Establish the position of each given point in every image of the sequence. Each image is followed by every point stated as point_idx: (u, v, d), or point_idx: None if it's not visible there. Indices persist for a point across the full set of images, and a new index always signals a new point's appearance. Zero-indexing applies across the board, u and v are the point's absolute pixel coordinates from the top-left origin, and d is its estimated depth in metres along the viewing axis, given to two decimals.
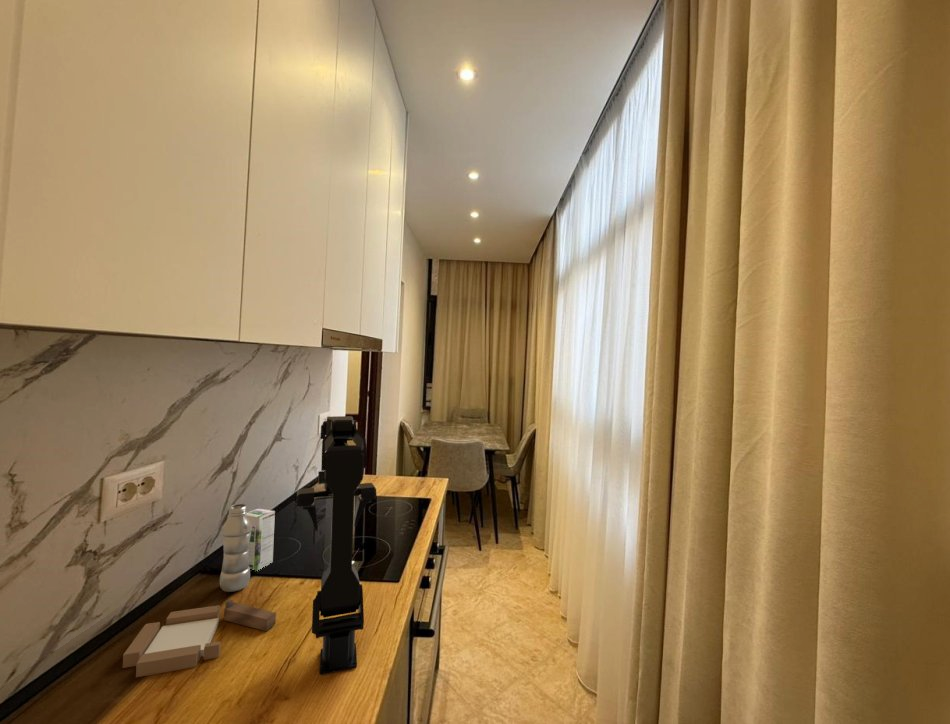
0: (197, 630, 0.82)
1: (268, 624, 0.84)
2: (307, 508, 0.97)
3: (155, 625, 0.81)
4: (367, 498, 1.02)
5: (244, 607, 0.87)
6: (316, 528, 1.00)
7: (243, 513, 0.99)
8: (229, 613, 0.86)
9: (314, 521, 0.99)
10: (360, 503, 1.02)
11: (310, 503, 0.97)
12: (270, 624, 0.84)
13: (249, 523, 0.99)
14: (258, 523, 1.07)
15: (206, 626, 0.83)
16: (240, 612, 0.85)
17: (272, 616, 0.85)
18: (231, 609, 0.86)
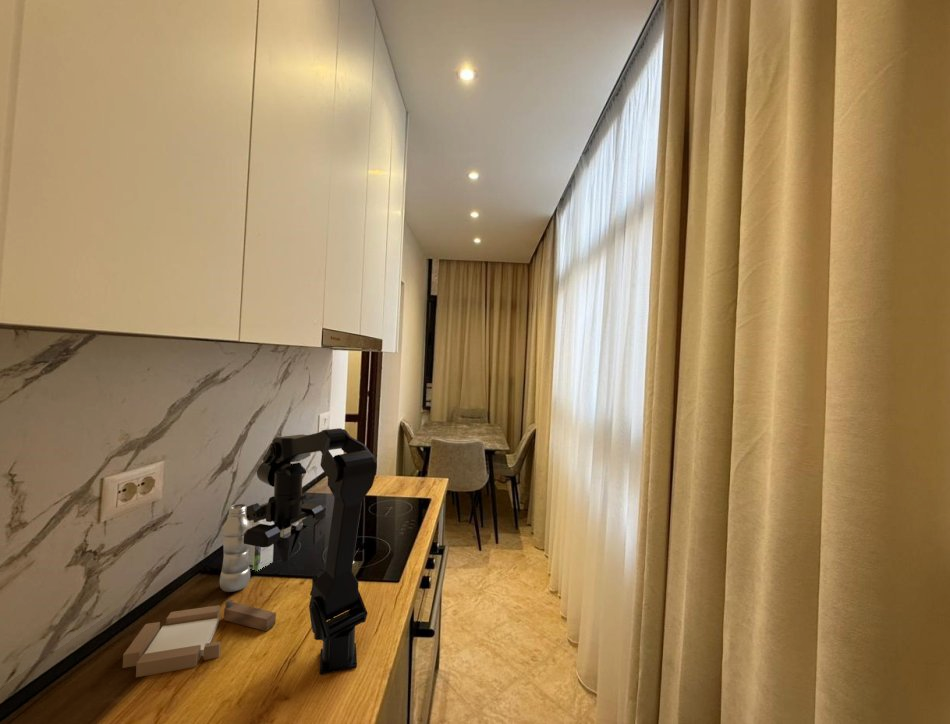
0: (197, 630, 0.82)
1: (268, 624, 0.84)
2: (289, 537, 0.88)
3: (155, 625, 0.81)
4: (319, 517, 0.97)
5: (244, 607, 0.87)
6: (288, 558, 0.91)
7: (243, 513, 0.99)
8: (229, 613, 0.86)
9: (289, 550, 0.90)
10: (300, 532, 0.91)
11: (277, 539, 0.84)
12: (270, 624, 0.84)
13: (249, 523, 0.99)
14: (258, 523, 1.07)
15: (206, 626, 0.83)
16: (240, 612, 0.85)
17: (272, 616, 0.85)
18: (231, 609, 0.86)
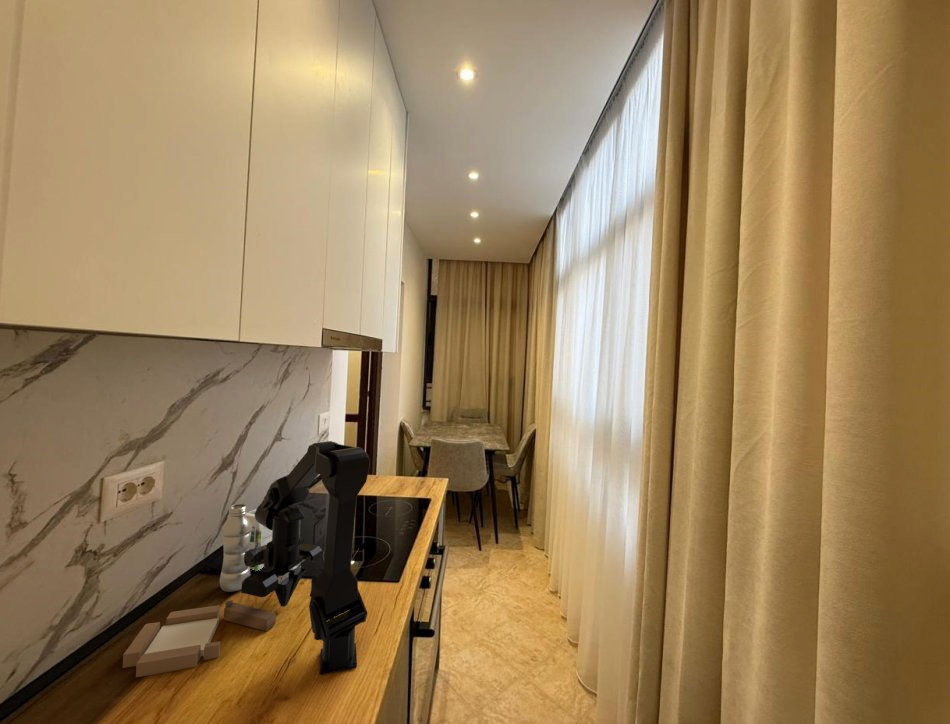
0: (197, 630, 0.82)
1: (268, 624, 0.84)
2: (287, 584, 0.88)
3: (155, 625, 0.81)
4: (317, 559, 0.97)
5: (244, 607, 0.87)
6: (286, 603, 0.90)
7: (243, 513, 0.99)
8: (229, 613, 0.86)
9: (287, 596, 0.90)
10: (298, 576, 0.91)
11: (275, 587, 0.84)
12: (270, 624, 0.84)
13: (249, 523, 0.99)
14: (258, 523, 1.07)
15: (206, 626, 0.83)
16: (240, 612, 0.85)
17: (272, 616, 0.85)
18: (231, 609, 0.86)
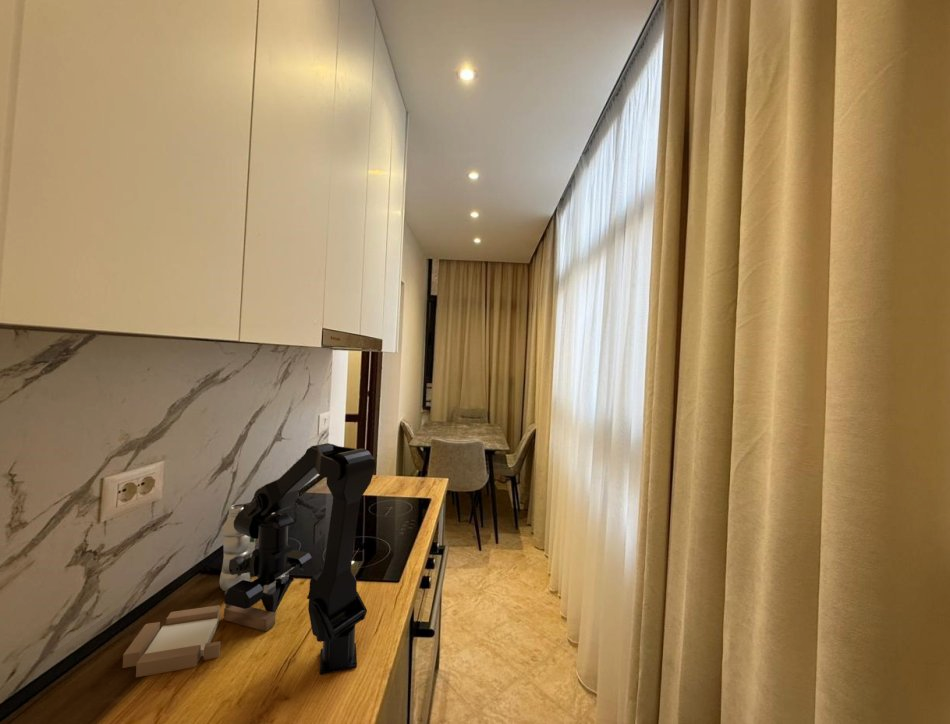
0: (197, 630, 0.82)
1: (268, 624, 0.84)
2: (273, 593, 0.84)
3: (155, 625, 0.81)
4: (306, 567, 0.93)
5: None
6: None
7: None
8: (229, 613, 0.86)
9: (274, 605, 0.86)
10: (285, 585, 0.87)
11: (259, 598, 0.80)
12: (270, 624, 0.84)
13: None
14: None
15: (206, 626, 0.83)
16: (240, 612, 0.85)
17: (272, 616, 0.85)
18: (231, 609, 0.86)
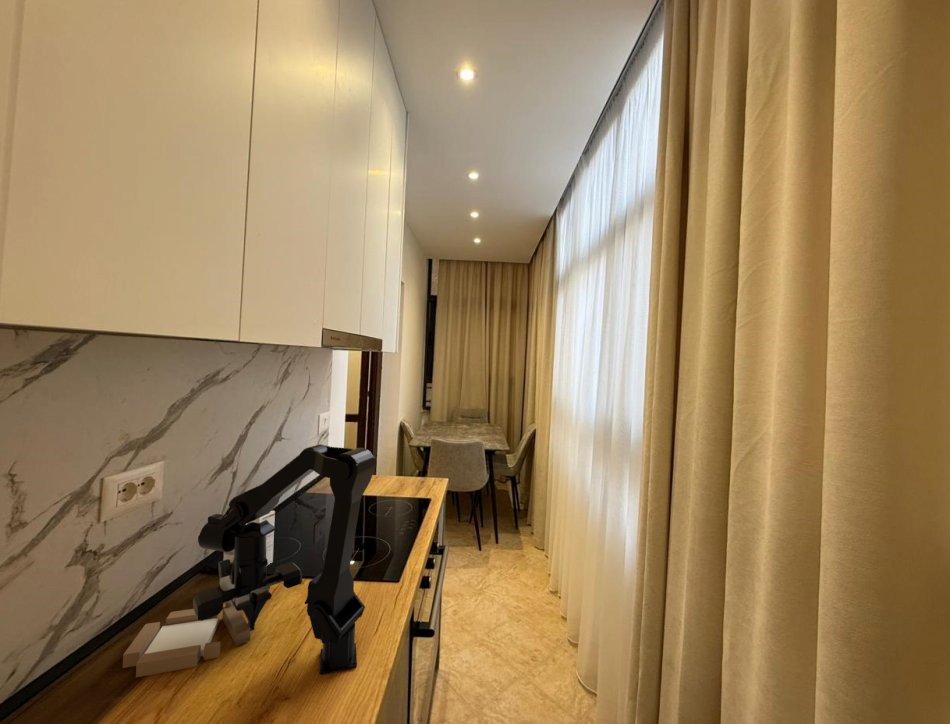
0: (197, 630, 0.82)
1: (239, 639, 0.79)
2: (243, 608, 0.79)
3: (155, 625, 0.81)
4: (292, 585, 0.85)
5: (236, 611, 0.86)
6: (253, 627, 0.82)
7: None
8: (224, 613, 0.86)
9: (251, 620, 0.81)
10: (258, 603, 0.81)
11: (217, 612, 0.76)
12: (242, 639, 0.80)
13: None
14: None
15: (206, 626, 0.83)
16: (228, 616, 0.84)
17: (245, 631, 0.80)
18: (226, 610, 0.86)
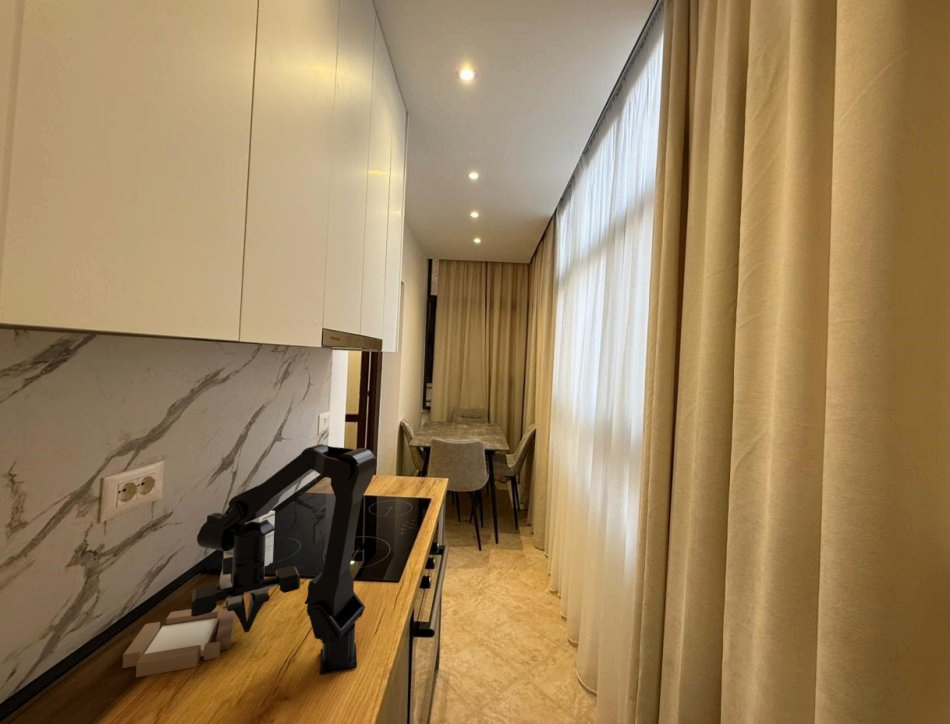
0: (197, 630, 0.82)
1: None
2: (234, 609, 0.78)
3: (155, 625, 0.81)
4: (288, 590, 0.83)
5: (230, 613, 0.85)
6: (245, 629, 0.81)
7: None
8: None
9: (243, 622, 0.80)
10: (254, 604, 0.80)
11: (210, 609, 0.76)
12: (222, 646, 0.78)
13: None
14: None
15: (206, 626, 0.83)
16: (220, 617, 0.83)
17: (225, 638, 0.78)
18: (223, 610, 0.86)
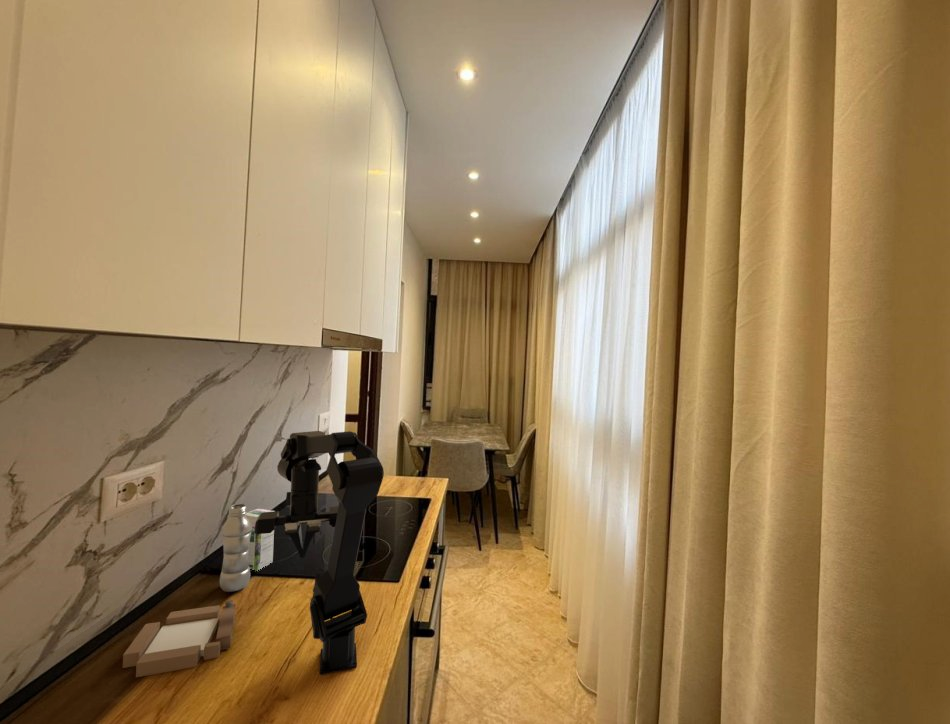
0: (197, 630, 0.82)
1: None
2: (289, 534, 0.87)
3: (155, 625, 0.81)
4: None
5: (230, 613, 0.85)
6: (300, 555, 0.90)
7: (243, 513, 0.99)
8: None
9: (298, 548, 0.89)
10: (307, 532, 0.89)
11: (270, 530, 0.86)
12: (222, 646, 0.78)
13: (249, 523, 0.99)
14: None
15: (206, 626, 0.83)
16: (220, 617, 0.83)
17: (225, 638, 0.78)
18: (223, 610, 0.86)
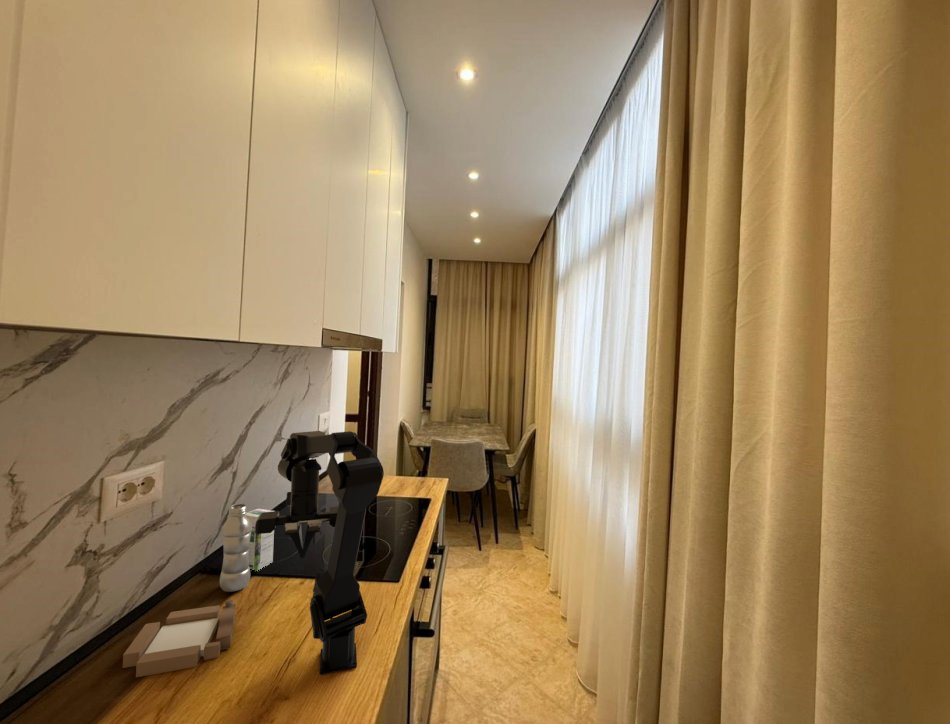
0: (197, 630, 0.82)
1: None
2: (289, 534, 0.87)
3: (155, 625, 0.81)
4: None
5: (230, 613, 0.85)
6: (301, 555, 0.90)
7: (243, 513, 0.99)
8: None
9: (298, 547, 0.89)
10: (307, 532, 0.89)
11: (270, 530, 0.86)
12: (222, 646, 0.78)
13: (249, 523, 0.99)
14: None
15: (206, 626, 0.83)
16: (220, 617, 0.83)
17: (225, 638, 0.78)
18: (223, 610, 0.86)
